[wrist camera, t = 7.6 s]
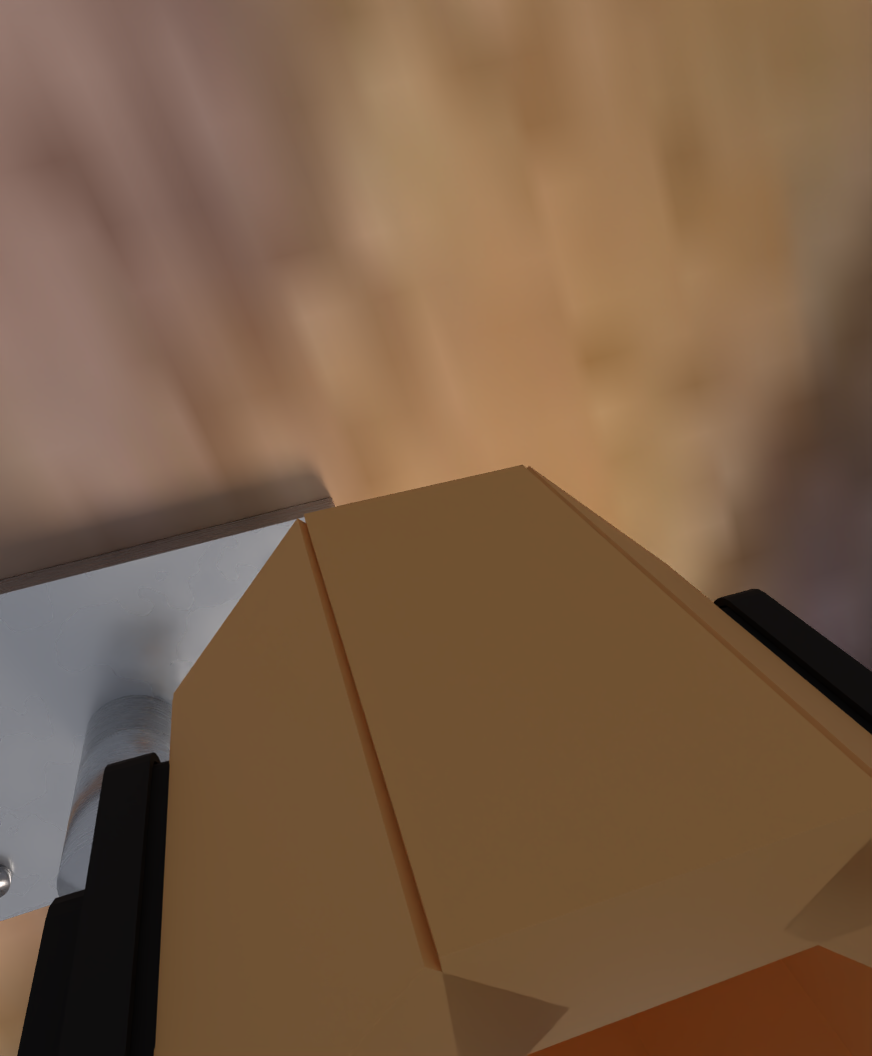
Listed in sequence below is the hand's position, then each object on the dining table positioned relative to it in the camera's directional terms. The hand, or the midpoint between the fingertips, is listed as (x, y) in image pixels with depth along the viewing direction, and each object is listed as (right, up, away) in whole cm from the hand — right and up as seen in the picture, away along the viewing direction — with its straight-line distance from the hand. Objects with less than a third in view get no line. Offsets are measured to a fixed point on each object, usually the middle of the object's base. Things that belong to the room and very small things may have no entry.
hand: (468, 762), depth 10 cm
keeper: (-11, -3, +16) cm, 19 cm away
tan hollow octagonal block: (0, +1, +1) cm, 1 cm away
